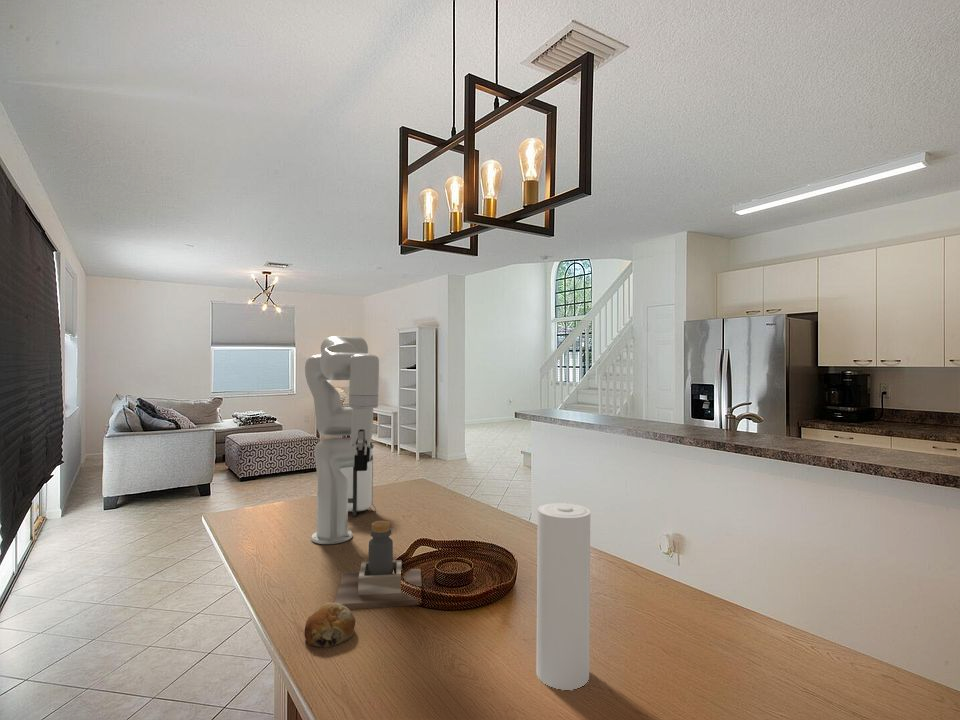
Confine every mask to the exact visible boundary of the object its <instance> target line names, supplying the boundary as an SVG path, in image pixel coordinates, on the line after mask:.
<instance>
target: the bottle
mask: <svg viewBox="0 0 960 720" xmlns="http://www.w3.org/2000/svg"><path fill="white" fill-rule="evenodd" d="M391 523H392V522H391V521H388V520H376V521H373V522H372V523H371V530H370V537H372V538H371V539H370V540H369V541H368V562H369V565H368V576H371V575H391V574H392V572H393V557H394V556H393V555H394V553H393V552H394V547H393V545H394V542H393V539H392V538H390V536H392V529H391Z"/></svg>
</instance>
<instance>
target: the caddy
mask: <svg viewBox="0 0 960 720" xmlns="http://www.w3.org/2000/svg"><path fill="white" fill-rule="evenodd" d="M402 563H403V562H402V559H399V560H398V559H397V560H393V568H394V569H395V570H396V574H391V575H371V576H368V565H369V561H361V564H360V569H359V571H347V572H346V571H344V572H342V576H341V579H340V583H339V586H338V588H337V592H336V596H335V600H334V602H333V603H340V604H342V605H344V606H346V607H347V608H348V609H349V610H352V609H355V610H356V609H367V608H370V609H371V608H385V607H387V608H388V607H389V608H390V607H402V606H419V605H420V604H419V603H418V600H417V599H414V598H412V597H410V596H408V595H406V594H405V593H403V592H402V591H401V570H402ZM410 569H411V570H410V571H409V572H407V573H406V574H405V576H404V577H403V578H404V580H405V581H406V582H408V583H410V584H413V585H416V586H422V587H423V585H422V583H423V582H422V573H421V572H422V569H421V568H410Z"/></svg>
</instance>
